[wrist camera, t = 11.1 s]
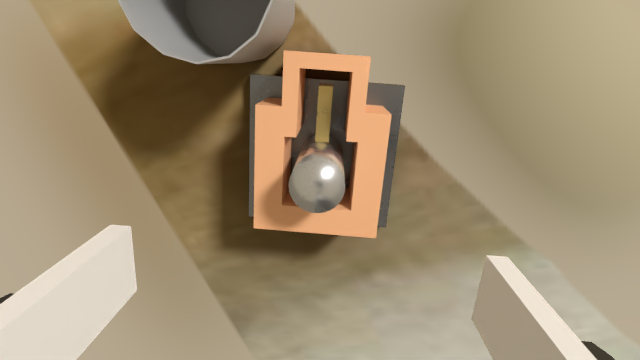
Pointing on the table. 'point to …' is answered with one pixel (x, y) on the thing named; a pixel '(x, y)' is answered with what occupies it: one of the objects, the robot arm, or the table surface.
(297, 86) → the orange bottle-shaped mold
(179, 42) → the cup
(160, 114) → the table surface
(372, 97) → the post base
